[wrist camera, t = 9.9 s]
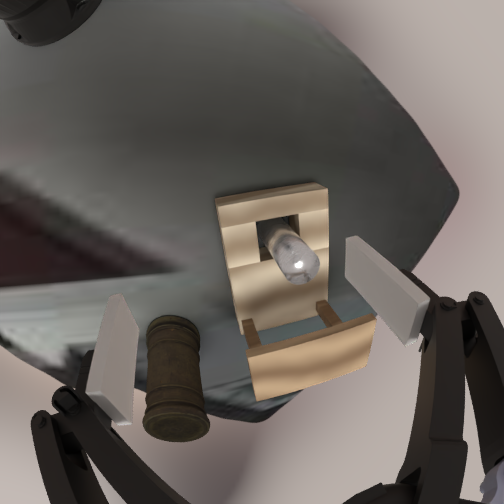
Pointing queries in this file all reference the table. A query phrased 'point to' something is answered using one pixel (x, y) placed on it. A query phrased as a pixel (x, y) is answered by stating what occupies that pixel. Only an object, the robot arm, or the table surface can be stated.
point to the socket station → (287, 293)
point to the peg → (288, 251)
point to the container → (174, 382)
